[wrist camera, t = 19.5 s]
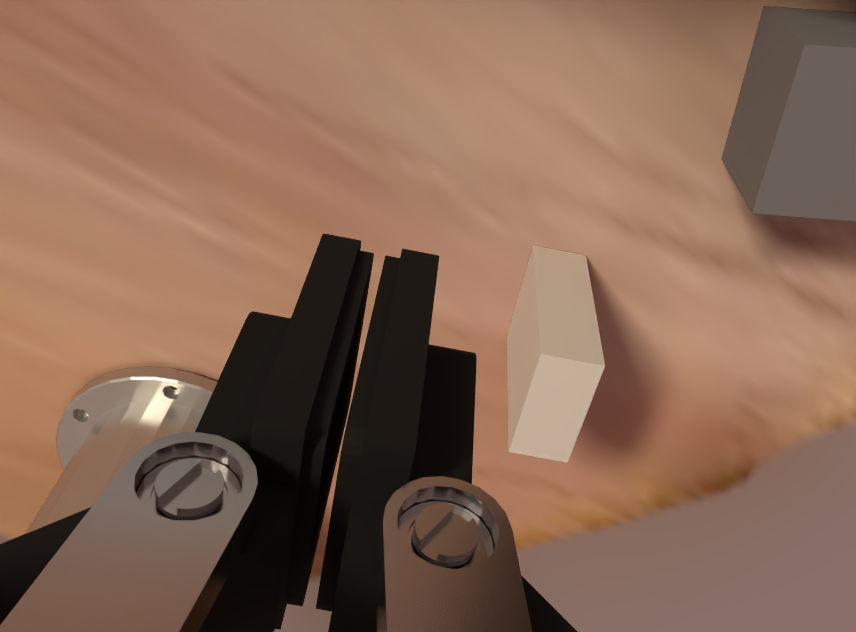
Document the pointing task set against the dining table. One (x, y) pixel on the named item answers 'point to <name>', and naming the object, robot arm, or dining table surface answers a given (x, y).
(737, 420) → the dining table surface
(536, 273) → the pair of cream posts
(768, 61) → the block
